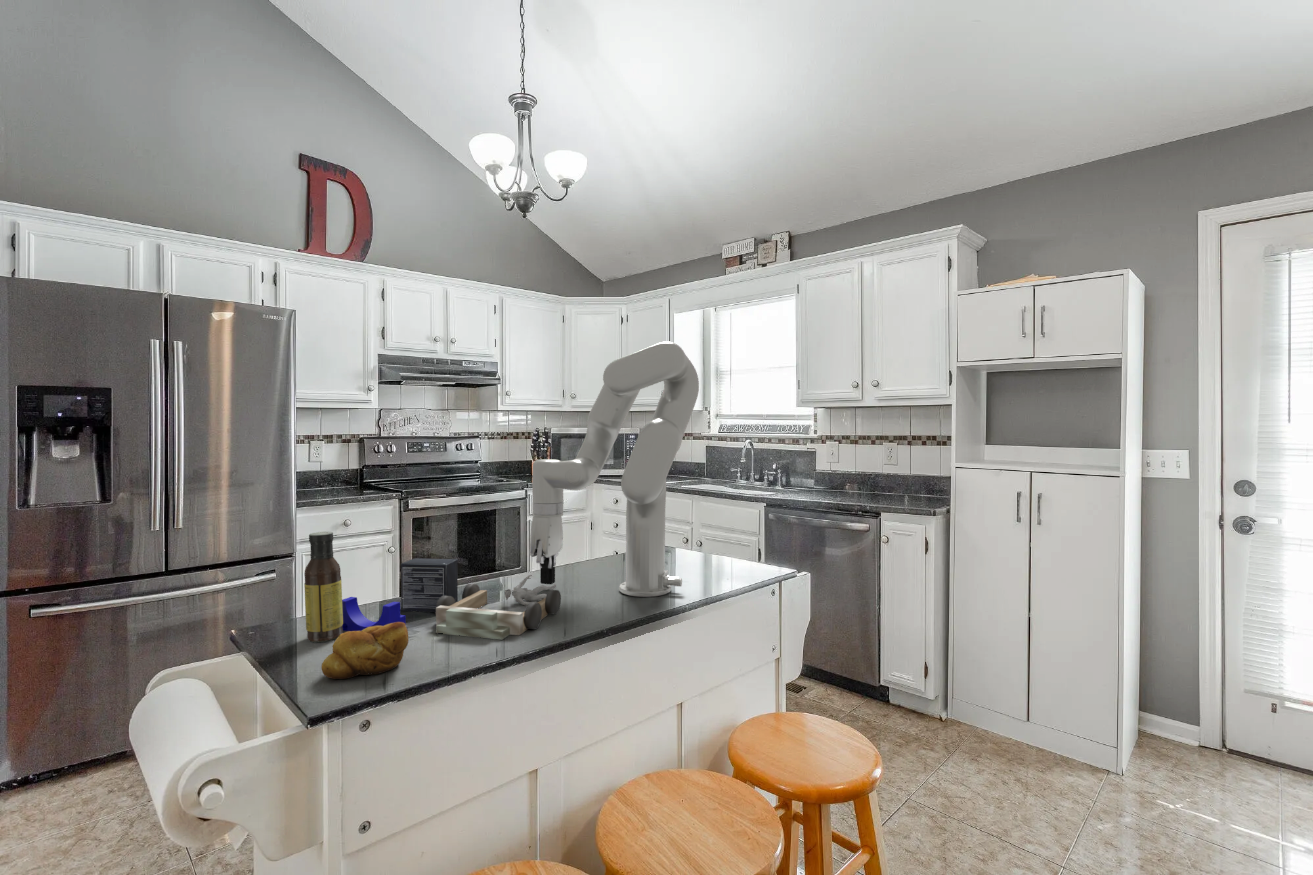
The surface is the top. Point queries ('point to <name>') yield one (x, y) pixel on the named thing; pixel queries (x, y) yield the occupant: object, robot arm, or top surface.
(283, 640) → the top surface
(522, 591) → the soldier figure
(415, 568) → the small box
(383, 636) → the bread roll
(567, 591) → the top surface
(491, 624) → the chassis
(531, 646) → the top surface
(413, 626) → the top surface
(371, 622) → the blue cradle block
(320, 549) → the sauce bottle
